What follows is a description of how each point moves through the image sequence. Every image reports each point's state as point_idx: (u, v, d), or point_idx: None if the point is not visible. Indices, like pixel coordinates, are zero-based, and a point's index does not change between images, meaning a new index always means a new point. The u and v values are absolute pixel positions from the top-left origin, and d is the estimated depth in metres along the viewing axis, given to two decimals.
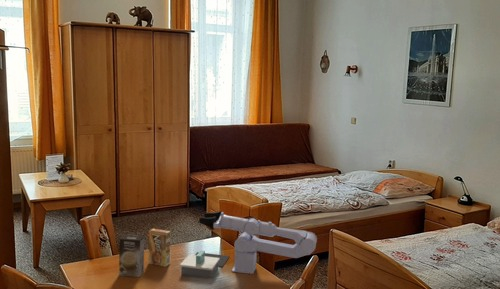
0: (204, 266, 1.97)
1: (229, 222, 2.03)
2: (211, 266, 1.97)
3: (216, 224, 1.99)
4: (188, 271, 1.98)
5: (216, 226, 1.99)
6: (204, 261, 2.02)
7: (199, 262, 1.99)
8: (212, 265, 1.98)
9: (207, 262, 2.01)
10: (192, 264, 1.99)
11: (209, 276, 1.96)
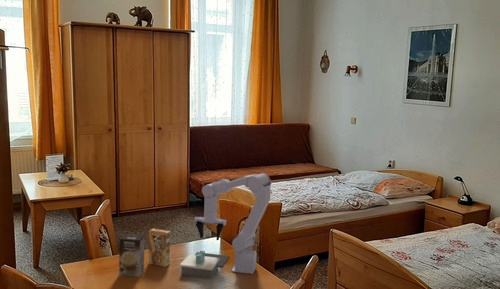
0: (204, 266, 1.97)
1: None
2: (211, 266, 1.97)
3: None
4: (188, 271, 1.98)
5: None
6: (204, 261, 2.02)
7: (199, 262, 1.99)
8: (212, 265, 1.98)
9: (207, 262, 2.01)
10: (192, 264, 1.99)
11: (209, 276, 1.96)
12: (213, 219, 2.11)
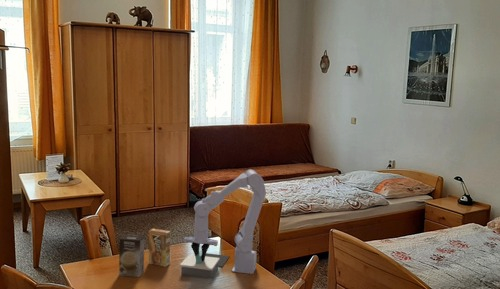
0: (204, 266, 1.97)
1: None
2: (211, 266, 1.97)
3: None
4: (188, 271, 1.98)
5: None
6: (204, 261, 2.02)
7: (199, 262, 1.99)
8: (212, 265, 1.98)
9: (207, 262, 2.01)
10: (192, 264, 1.99)
11: (209, 276, 1.96)
12: (204, 240, 1.98)
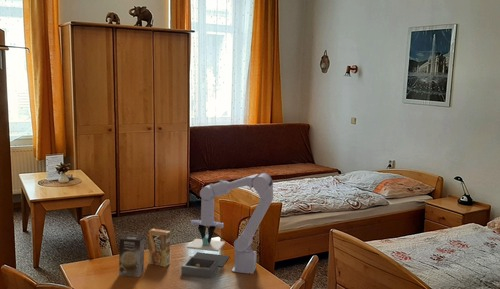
0: (210, 248, 2.04)
1: None
2: (217, 248, 2.05)
3: None
4: (188, 271, 1.98)
5: None
6: (210, 244, 2.10)
7: (205, 244, 2.07)
8: (218, 247, 2.06)
9: (213, 245, 2.09)
10: (198, 246, 2.06)
11: (209, 276, 1.96)
12: (210, 222, 2.06)
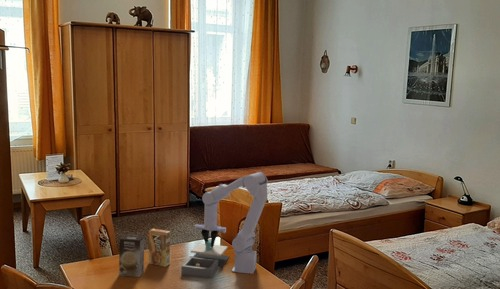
0: (213, 252, 2.10)
1: None
2: (220, 252, 2.10)
3: None
4: (188, 271, 1.98)
5: None
6: (213, 248, 2.15)
7: (208, 249, 2.12)
8: (221, 251, 2.11)
9: (216, 249, 2.14)
10: (202, 250, 2.12)
11: (209, 276, 1.96)
12: (213, 227, 2.12)
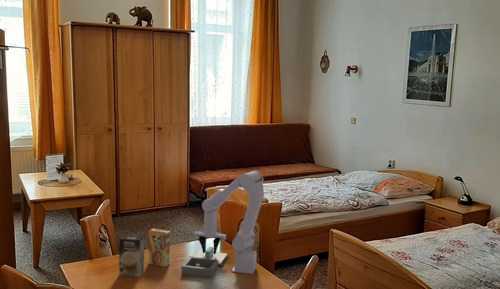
0: None
1: None
2: (219, 261, 2.11)
3: None
4: (188, 271, 1.98)
5: None
6: (213, 256, 2.16)
7: (208, 257, 2.13)
8: (220, 260, 2.12)
9: (216, 257, 2.14)
10: None
11: (209, 276, 1.96)
12: (213, 234, 2.12)
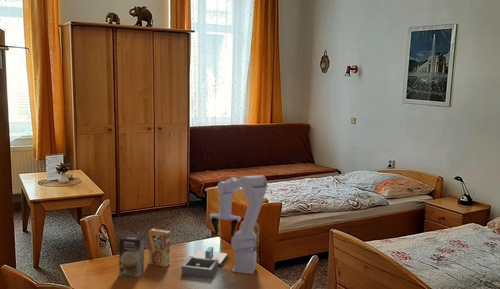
0: None
1: None
2: (219, 261, 2.11)
3: None
4: (188, 271, 1.98)
5: None
6: (213, 256, 2.16)
7: (208, 257, 2.13)
8: (220, 260, 2.12)
9: (216, 257, 2.14)
10: None
11: (209, 276, 1.96)
12: (228, 215, 2.17)
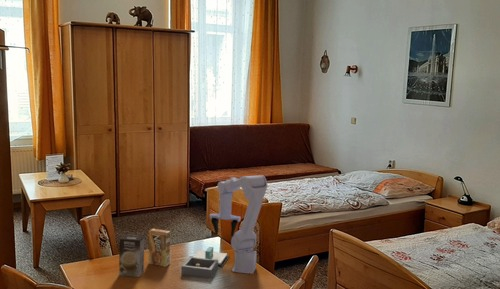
0: None
1: None
2: (219, 261, 2.11)
3: None
4: (188, 271, 1.98)
5: None
6: (213, 256, 2.16)
7: (208, 257, 2.13)
8: (220, 260, 2.12)
9: (216, 257, 2.14)
10: None
11: (209, 276, 1.96)
12: (228, 215, 2.17)
